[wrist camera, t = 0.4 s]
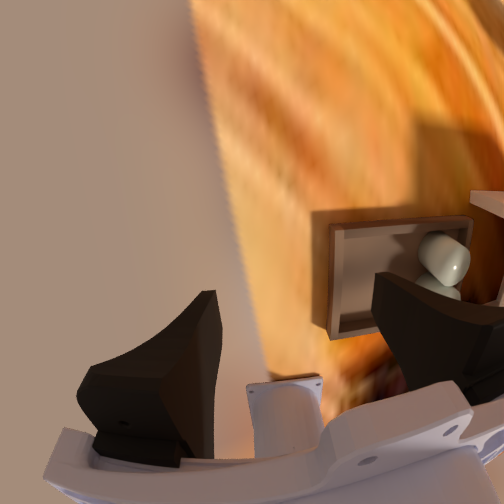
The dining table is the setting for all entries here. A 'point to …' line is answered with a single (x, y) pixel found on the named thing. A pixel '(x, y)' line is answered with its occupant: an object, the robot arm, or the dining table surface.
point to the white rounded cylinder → (437, 286)
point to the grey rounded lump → (444, 257)
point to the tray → (377, 264)
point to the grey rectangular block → (498, 205)
